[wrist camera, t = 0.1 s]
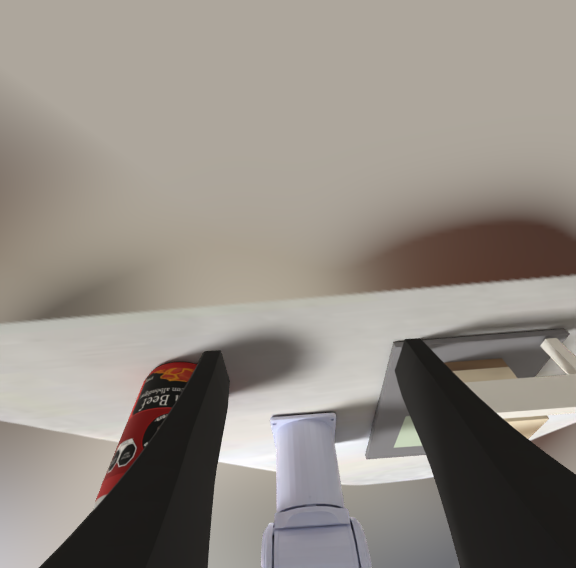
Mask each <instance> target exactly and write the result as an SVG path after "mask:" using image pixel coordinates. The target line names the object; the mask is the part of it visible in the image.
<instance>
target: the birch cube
mask: <svg viewBox="0 0 576 568" xmlns="http://www.w3.org/2000/svg"><path fill="white" fill-rule="evenodd" d="M445 364H446V365H447V366H448V367H449V368H450V369H451V370H452V371H453V372H454V373H455V374H456V375H457V376H458V377H459V378H460V379H461V380H462V381H463V382H477V381H490V380H503V379H516V378H517V377H516V375H515V374H514V373H513V372H512V370H511V369H510V368H509V366H508V365H507V364H506V363H505V361H504V360H503V359H502V358H498V359H486V360H473V361H460V362H447V363H445ZM548 419H549V418H548V416H547V415H544V416H531V417H518V418H505V419H504V420H505V421H506V422H508V423H509V424H510V425H511V426H512V427H514V428H515V429H516V430H517V431H518V432H520V433H521V434H522V435H523V436H525V437H526V438H527V439H529V438H530V437H531V436H532V435H533V434H534V433H535V432H536V431H537V430H538V429H539V428H540V427H541V426H542V425H543V424H544V423H545V422H546V421H547V420H548Z"/></svg>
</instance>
